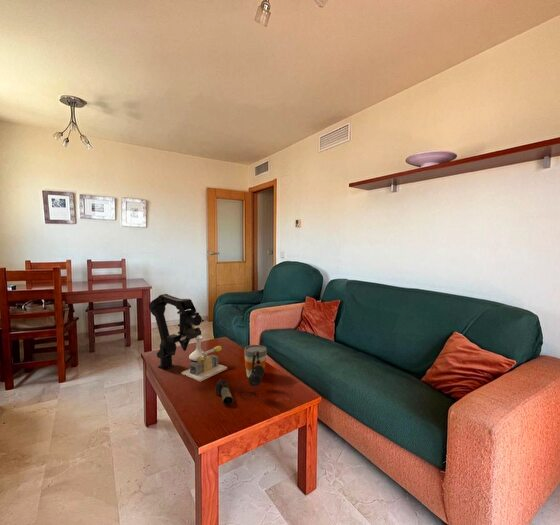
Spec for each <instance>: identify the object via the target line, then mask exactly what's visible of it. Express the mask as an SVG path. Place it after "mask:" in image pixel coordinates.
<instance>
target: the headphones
mask: <svg viewBox="0 0 560 525" xmlns="http://www.w3.org/2000/svg"><path fill="white" fill-rule="evenodd" d="M256 356H257V364H260V356H259V351H255V352H254V354H253V360H252V372H251V375H250V376H249V377H248V382H249V385H250V386H251V387H254V388H256V387H257V388H258V386H260V384H261V383H262V381H263V380H262V379H263V376H264V375H265V368H263V367H262V366H261V365H256V366H255V367H254V363H255V359H256ZM257 391H258V389H255V391H253V392H249V391H248V393H250V394H251V393H252V394H253V395H255V392H257ZM238 392H239V394H240V395H239V396H240V398H241V399H247V397H245V398H244V397H241V395H242V394H244V395H246V396H248V394H247V393H246V392H242V391H241V390H240V391H238ZM252 394H251V395H252Z"/></svg>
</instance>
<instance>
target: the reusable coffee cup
mask: <svg viewBox="0 0 560 525" xmlns="http://www.w3.org/2000/svg"><path fill="white" fill-rule="evenodd" d="M255 351H259V356H260V364H257V356H256V359H255V363H254V367H255V366H256V365H261V366H262V367H263V368H264V369H265V367H266V364H267V363H266V362H267V355H268V350H267V347H266V346H264V345H262V344H261V345H259V344H252V345H251V344H250V345H247V346H245V347H244V352H243V354H244V367H245V371H246V376H247V378H249V376H250V375H251V372H252V360H253V354H254V352H255Z"/></svg>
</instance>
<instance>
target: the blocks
mask: <svg viewBox="0 0 560 525" xmlns="http://www.w3.org/2000/svg"><path fill="white" fill-rule="evenodd" d="M218 364H219V356H218V355H214V354H209V355H208V356H206V357H205V358H204V357H202V356H200V357H198V358H197V361H195V362H194V361H191V362H189V369H190V373H191V374H194V375H196V376H197V375H199V374H200V373H202V372H206V371H209V370H211V369H212V368H213V367H217V366H218Z"/></svg>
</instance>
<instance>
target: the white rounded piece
mask: <svg viewBox="0 0 560 525" xmlns="http://www.w3.org/2000/svg"><path fill="white" fill-rule="evenodd" d="M192 327H193V328H196V326H195V325H192ZM203 339H204V337H203V336H201V335H199V336H197V338H194V340H195V342H196V348H195V350H194V351H192V353H190V354H189V356H188V358H189V360H190V361H192V362H194V361H195V362H197V358H198V357H200V356H202V352H204V351H205V350H203V349H202V348H201V345H202V344H201V343H202V340H203ZM207 356H209V355H208V354H207Z"/></svg>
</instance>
